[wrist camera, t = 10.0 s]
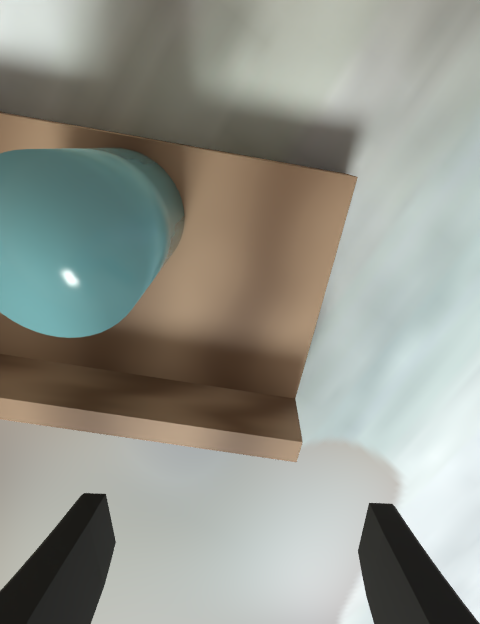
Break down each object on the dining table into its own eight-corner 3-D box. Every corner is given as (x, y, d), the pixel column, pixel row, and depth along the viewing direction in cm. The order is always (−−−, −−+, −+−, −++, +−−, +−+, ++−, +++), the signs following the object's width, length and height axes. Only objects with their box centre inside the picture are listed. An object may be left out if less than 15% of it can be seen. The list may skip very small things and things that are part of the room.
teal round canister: (189, 158, 14) (149, 166, 9) (180, 279, 16) (143, 348, 11) (59, 138, 14) (-67, 133, 8) (66, 263, 16) (-30, 325, 10)
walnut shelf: (345, 173, 16) (383, 184, 11) (286, 393, 21) (296, 462, 16) (-75, 98, 15) (-214, 78, 11) (-32, 344, 20) (-114, 402, 16)
